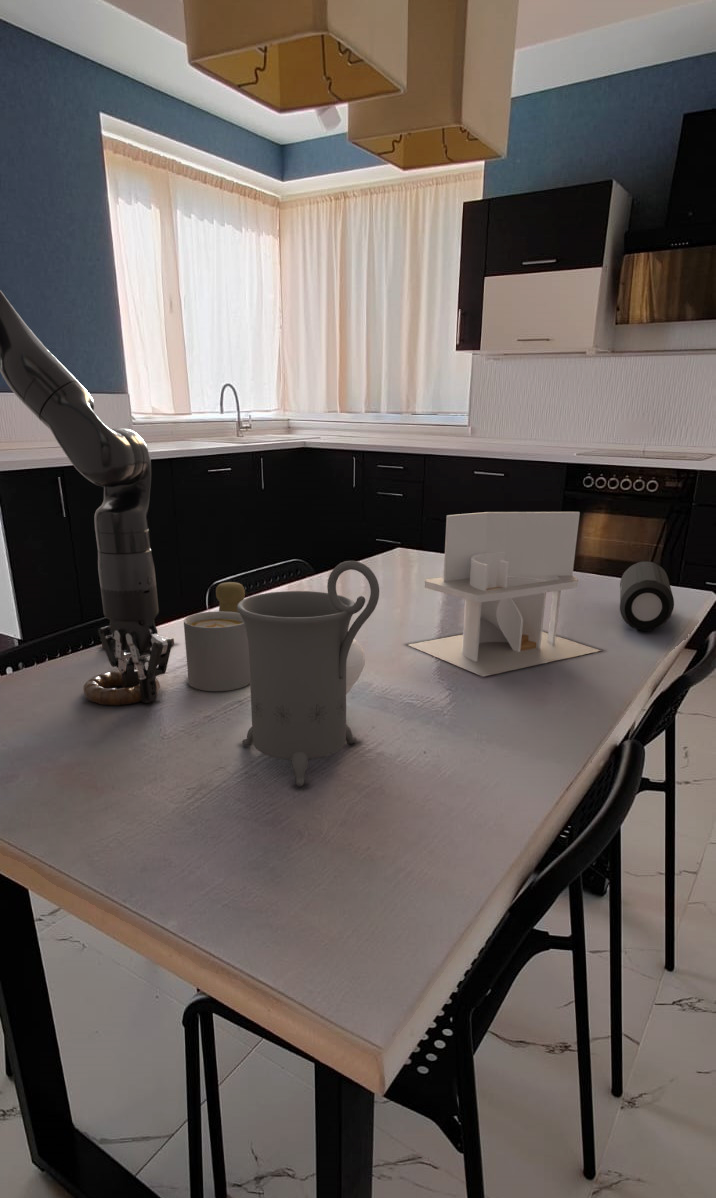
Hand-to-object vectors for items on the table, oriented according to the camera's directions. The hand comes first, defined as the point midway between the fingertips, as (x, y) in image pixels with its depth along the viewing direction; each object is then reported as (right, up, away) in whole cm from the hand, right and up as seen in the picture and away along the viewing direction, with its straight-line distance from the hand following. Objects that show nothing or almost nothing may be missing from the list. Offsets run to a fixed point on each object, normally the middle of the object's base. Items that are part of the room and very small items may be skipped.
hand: (140, 698), depth 114 cm
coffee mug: (+11, +4, +10) cm, 15 cm away
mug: (+26, -9, -18) cm, 33 cm away
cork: (+9, +11, +28) cm, 32 cm away
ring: (-3, +2, +2) cm, 4 cm away
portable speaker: (+91, +19, +47) cm, 104 cm away
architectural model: (+59, +10, +26) cm, 65 cm away
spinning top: (+29, -1, -1) cm, 29 cm away
